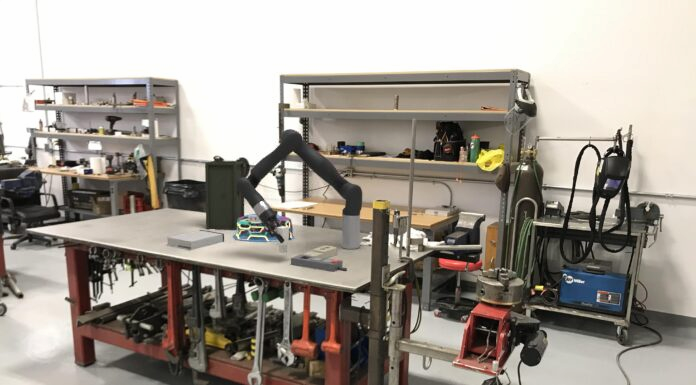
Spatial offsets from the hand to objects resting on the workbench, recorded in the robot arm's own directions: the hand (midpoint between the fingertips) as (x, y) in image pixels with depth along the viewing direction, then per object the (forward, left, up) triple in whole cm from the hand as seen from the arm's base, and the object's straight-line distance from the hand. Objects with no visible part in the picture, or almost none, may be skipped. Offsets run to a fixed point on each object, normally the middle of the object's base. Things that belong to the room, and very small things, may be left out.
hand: (286, 240), depth 227 cm
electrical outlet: (-14, +10, -10) cm, 20 cm away
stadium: (-36, -39, -10) cm, 54 cm away
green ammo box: (-48, -77, -10) cm, 91 cm away
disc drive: (-5, -60, -10) cm, 61 cm away
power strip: (0, +18, -9) cm, 20 cm away
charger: (0, -2, -5) cm, 6 cm away
